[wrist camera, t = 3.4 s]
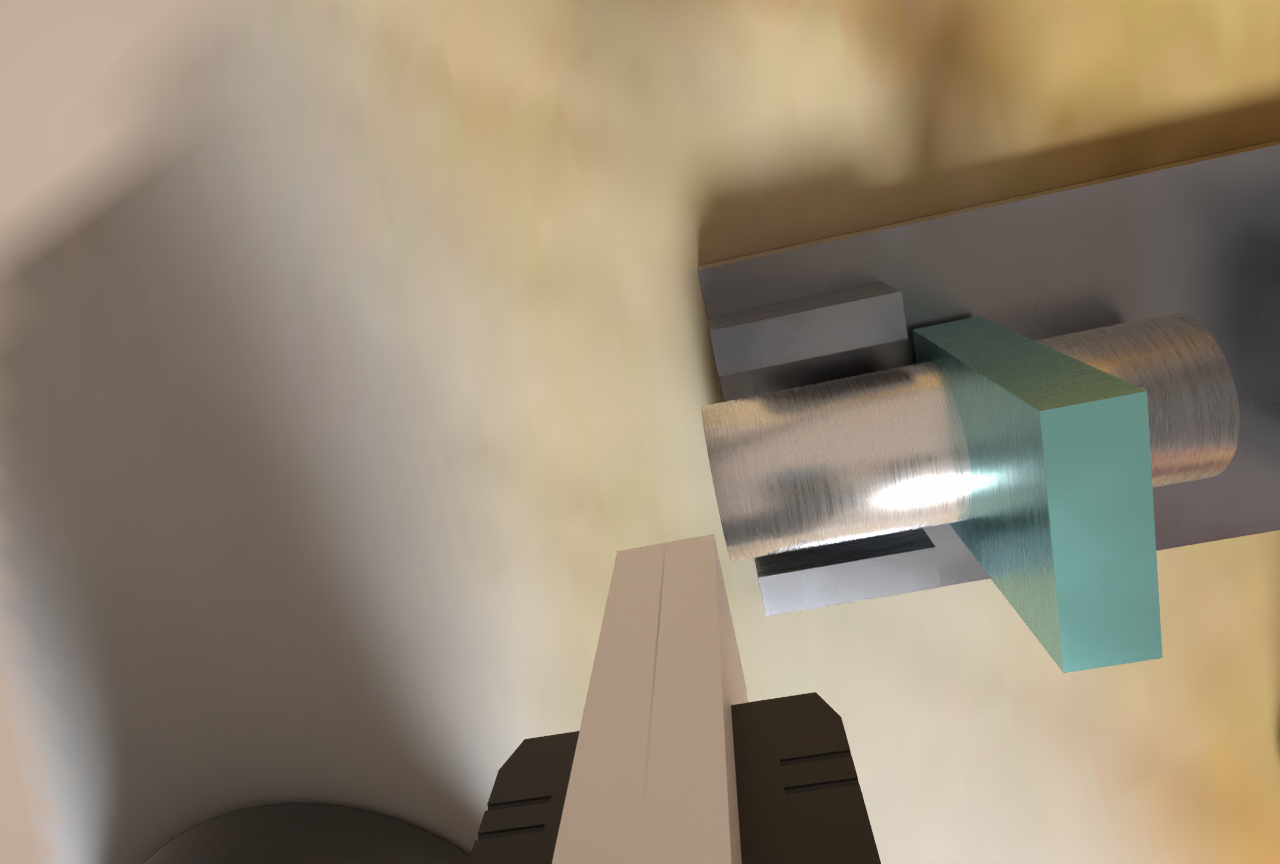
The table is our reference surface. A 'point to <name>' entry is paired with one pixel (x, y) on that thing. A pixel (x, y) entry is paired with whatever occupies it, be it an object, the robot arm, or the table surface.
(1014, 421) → the tube
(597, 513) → the table surface
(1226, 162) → the cradle
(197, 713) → the table surface
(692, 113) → the table surface
